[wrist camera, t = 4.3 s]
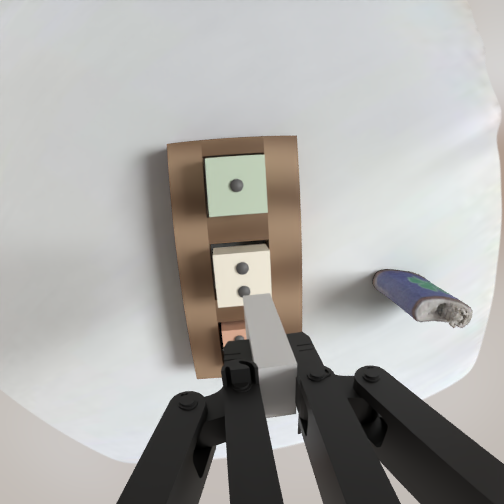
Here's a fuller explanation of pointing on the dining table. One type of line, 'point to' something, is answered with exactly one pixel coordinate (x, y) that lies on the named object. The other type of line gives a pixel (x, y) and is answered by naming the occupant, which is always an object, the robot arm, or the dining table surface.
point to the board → (234, 237)
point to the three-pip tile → (233, 331)
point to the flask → (421, 298)
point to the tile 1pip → (236, 185)
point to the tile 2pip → (241, 273)
